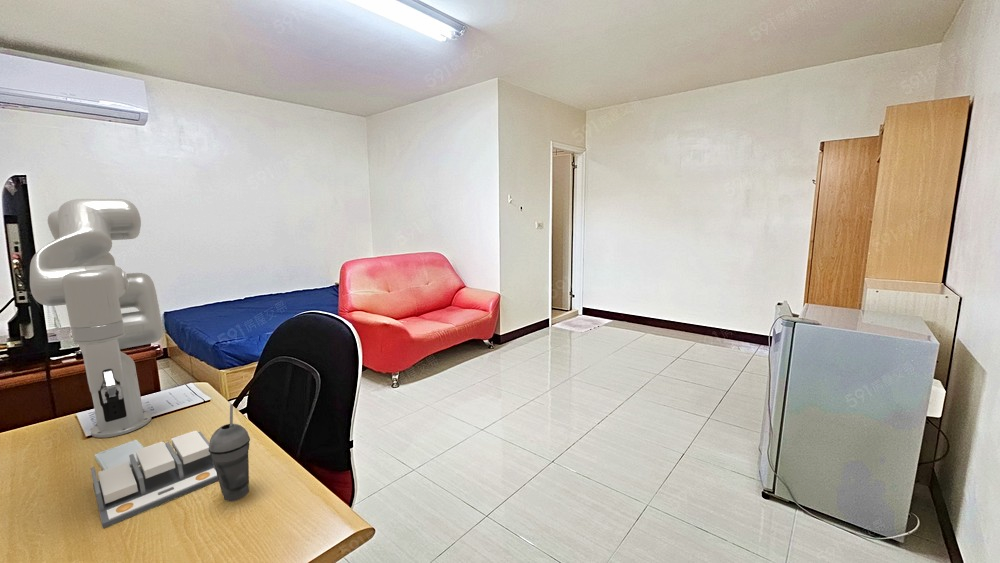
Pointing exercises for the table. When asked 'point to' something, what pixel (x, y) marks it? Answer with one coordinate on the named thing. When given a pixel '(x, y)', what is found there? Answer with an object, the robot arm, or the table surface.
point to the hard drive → (118, 454)
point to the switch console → (156, 487)
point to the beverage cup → (231, 459)
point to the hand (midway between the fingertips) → (113, 411)
